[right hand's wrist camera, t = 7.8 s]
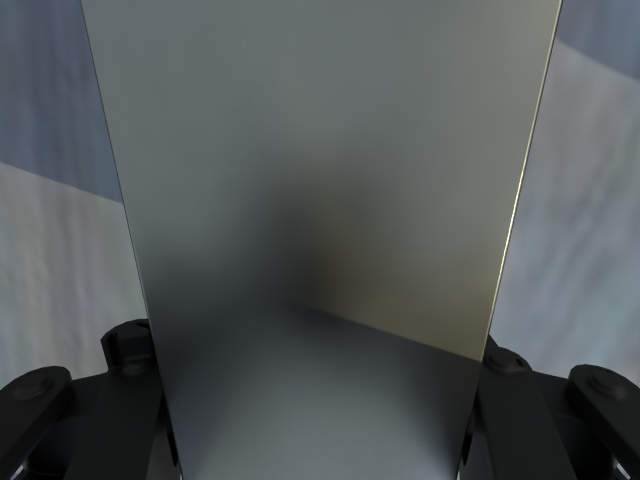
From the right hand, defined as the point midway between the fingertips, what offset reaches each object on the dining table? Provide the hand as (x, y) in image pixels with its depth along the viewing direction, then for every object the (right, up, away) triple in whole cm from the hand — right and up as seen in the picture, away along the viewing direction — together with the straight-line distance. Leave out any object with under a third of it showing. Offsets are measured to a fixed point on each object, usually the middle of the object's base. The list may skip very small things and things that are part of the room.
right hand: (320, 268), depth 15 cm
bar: (0, +13, -4) cm, 13 cm away
